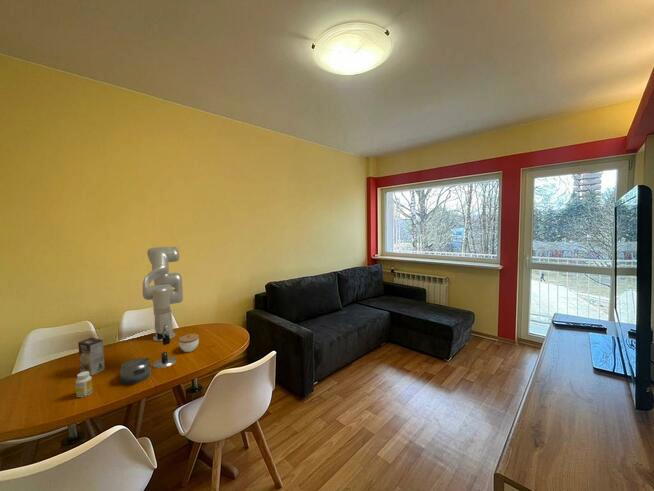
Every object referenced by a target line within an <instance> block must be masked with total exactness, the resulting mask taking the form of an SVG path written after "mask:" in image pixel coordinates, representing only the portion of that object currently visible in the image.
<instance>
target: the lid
mask: <svg viewBox="0 0 654 491" xmlns="http://www.w3.org/2000/svg"><path fill="white" fill-rule="evenodd" d="M160 354H161V357H160V359H157V360H156V361H154V362H153V363H152V367H153V368H154V369H164V368H168V367H171V366H172V365H174V364H176V362H177V358H176V357H174V356H168V351H163V352H161V353H160Z"/></svg>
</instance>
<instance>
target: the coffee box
mask: <svg viewBox="0 0 654 491" xmlns="http://www.w3.org/2000/svg"><path fill="white" fill-rule="evenodd" d="M78 354H79V355H78V356H79V366H80V367H79V368H80V369H79V370H80V373H81V372H85V371H89V376H93V375H96V374H98V373H100V372H103V371H104V370H105V368H106V367H105V357H104V356H105V354H104V340H103V339H101V338H100V339H99V338H96V337H92V336H91V337H89V338H87V339H83V340H81V341H79V342H78Z"/></svg>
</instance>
